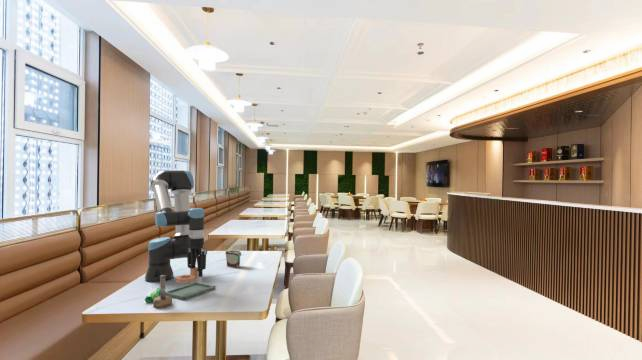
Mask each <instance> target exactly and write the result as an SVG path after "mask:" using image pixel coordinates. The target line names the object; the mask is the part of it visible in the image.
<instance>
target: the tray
mask: <svg viewBox="0 0 642 360" xmlns="http://www.w3.org/2000/svg"><path fill="white" fill-rule="evenodd" d="M214 290H216V285H211V284H207V283H203V282H201V283H197V281H195V282H191V283H187V284H184V285H182V286H179V287H176V288H172V289H169V290H167V291H166V290H165V295H166V296H171V297H172V299H177V300H181V301H186V300H189V299H192V298H195V297H198V296H201V295H203V294H206V293H209V292H211V291H214Z"/></svg>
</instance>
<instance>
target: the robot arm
mask: <svg viewBox="0 0 642 360" xmlns="http://www.w3.org/2000/svg"><path fill="white" fill-rule="evenodd" d="M194 181H195V179H194V175H193V173H192V172H191V171H190V170H183V169H182V170H168V169H167V170H161V171H159V172H157V173H156V174H155V175H154V176H153V177H152V179H151V180H150V189H151V191H152V192H153V195H154V199H155V204H156V208H157V212H156V213H155V214H154V215H155V216H154V222H155V225H156V227H165V228H166V227H171V226H175V234H174V235H173V236H172V237H173V238H172V239H171V238H170V237H169V236H166V237H165V236H163V237H159V238H153V239H151V240H150V241H148V242H149V243H148V249H147V250H148V266H147V270H146V273H145V276H144V280H145V281H146V282H151V283H153V282H154V283H156V282H159V283H160V276H161V275H166V277H165V281H168V280H171V279H173V278H174V271H173V268H172V265H171V260H176V259H177V260H178V259H184V258H186V259H187V260H186V261H187V262H186V263H187V268H189V269H192V268H196V267H198V270H197V279H195V281H194V282H197V283H203V270H206V269H207V253H208V251H207V250H204V247H203V246H204V244H205V238H204V237H205V210H204V208H202V207H191V206H190V194H191V192H192V189H194V187H195V182H194ZM169 190H171V191H170V192H171V193H172V195H174V196H173V199H174V209H173V205H172V201H171V198H170V193H169ZM190 207H191V208H190ZM196 264H197V266H196ZM194 282H193V283H194Z"/></svg>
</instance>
